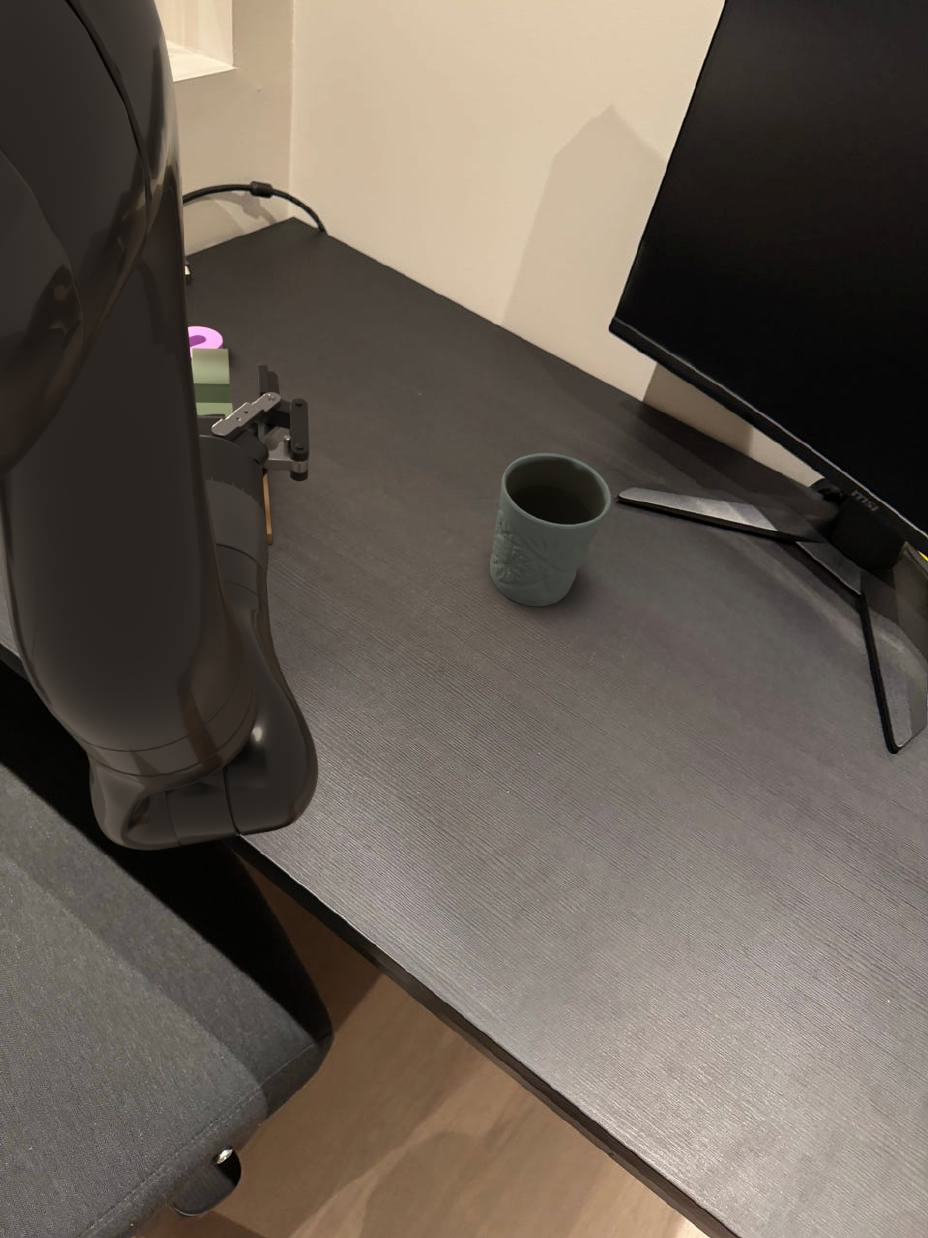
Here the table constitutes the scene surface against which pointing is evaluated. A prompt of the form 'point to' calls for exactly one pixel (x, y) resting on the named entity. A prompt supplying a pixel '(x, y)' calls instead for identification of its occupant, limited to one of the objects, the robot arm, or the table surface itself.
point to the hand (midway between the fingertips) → (201, 372)
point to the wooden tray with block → (218, 393)
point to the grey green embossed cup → (545, 526)
